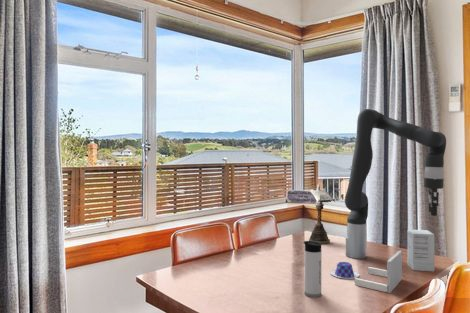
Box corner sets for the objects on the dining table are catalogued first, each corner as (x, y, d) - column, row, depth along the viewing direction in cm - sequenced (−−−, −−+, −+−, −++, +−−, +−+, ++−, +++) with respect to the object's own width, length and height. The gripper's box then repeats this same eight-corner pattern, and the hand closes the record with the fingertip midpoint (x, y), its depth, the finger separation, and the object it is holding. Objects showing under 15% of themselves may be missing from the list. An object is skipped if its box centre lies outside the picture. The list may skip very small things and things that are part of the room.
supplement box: (435, 272, 158) (435, 234, 158) (412, 270, 160) (413, 233, 160) (427, 265, 168) (428, 229, 167) (406, 263, 170) (407, 228, 169)
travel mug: (301, 291, 137) (301, 239, 137) (318, 290, 138) (318, 239, 137) (306, 297, 131) (306, 243, 131) (323, 297, 131) (323, 243, 131)
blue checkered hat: (324, 273, 158) (324, 261, 158) (345, 269, 163) (346, 258, 163) (343, 282, 147) (343, 269, 147) (365, 277, 152) (365, 265, 152)
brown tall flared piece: (340, 245, 203) (340, 184, 202) (319, 247, 199) (319, 185, 199) (325, 238, 219) (325, 182, 218) (306, 239, 215) (306, 182, 215)
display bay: (354, 284, 143) (354, 255, 143) (368, 272, 158) (369, 245, 158) (390, 293, 135) (390, 261, 135) (401, 279, 150) (401, 250, 149)
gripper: (422, 175, 164) (421, 210, 164) (425, 178, 151) (424, 215, 151) (441, 176, 161) (440, 211, 161) (446, 178, 148) (444, 217, 148)
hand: (432, 213), depth 156 cm, fingers open, 8 cm apart
